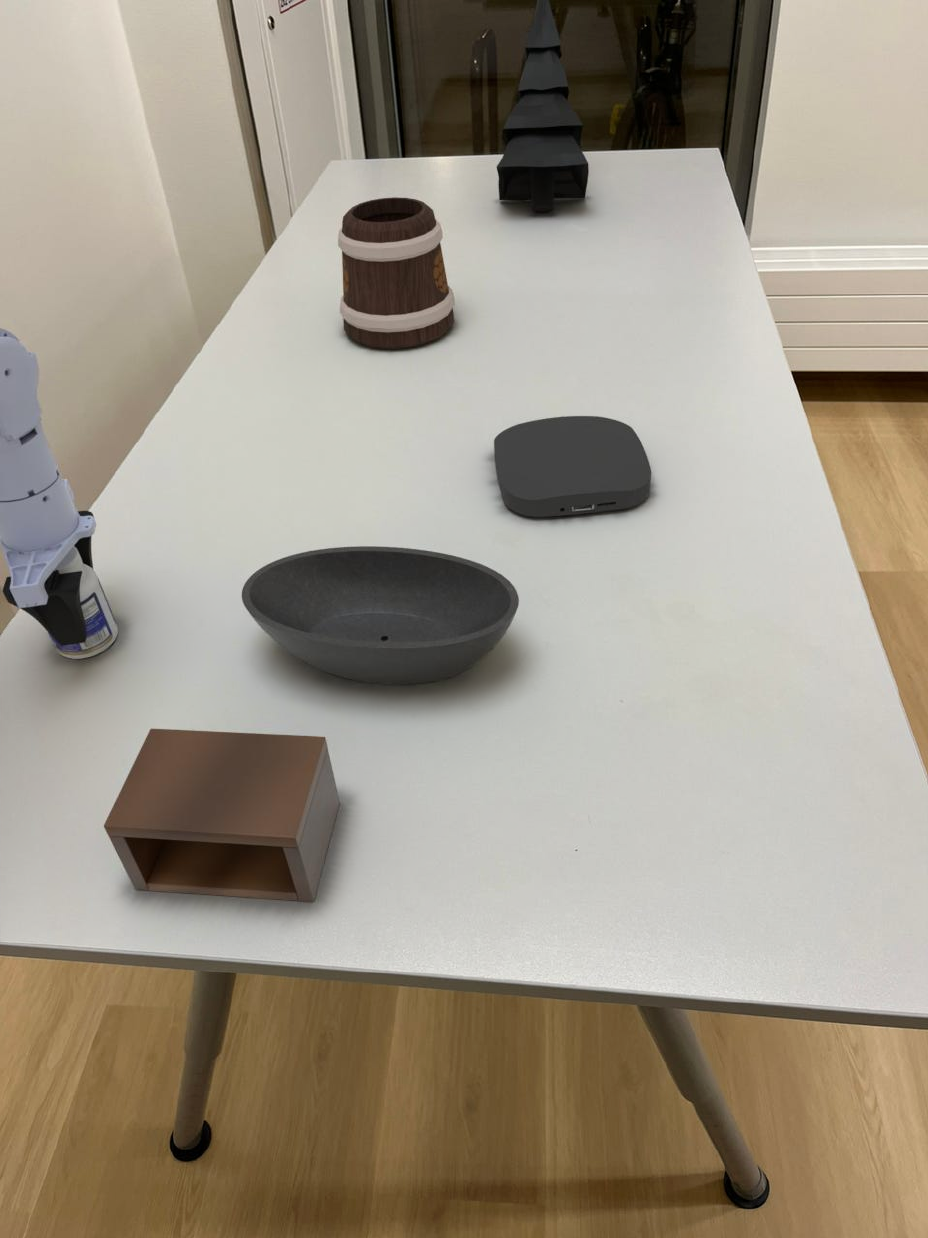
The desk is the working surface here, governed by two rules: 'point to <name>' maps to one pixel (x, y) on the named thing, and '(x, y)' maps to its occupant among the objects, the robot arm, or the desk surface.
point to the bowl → (382, 611)
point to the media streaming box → (571, 466)
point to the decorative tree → (542, 127)
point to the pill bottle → (89, 611)
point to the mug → (394, 274)
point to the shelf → (226, 814)
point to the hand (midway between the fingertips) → (78, 618)
